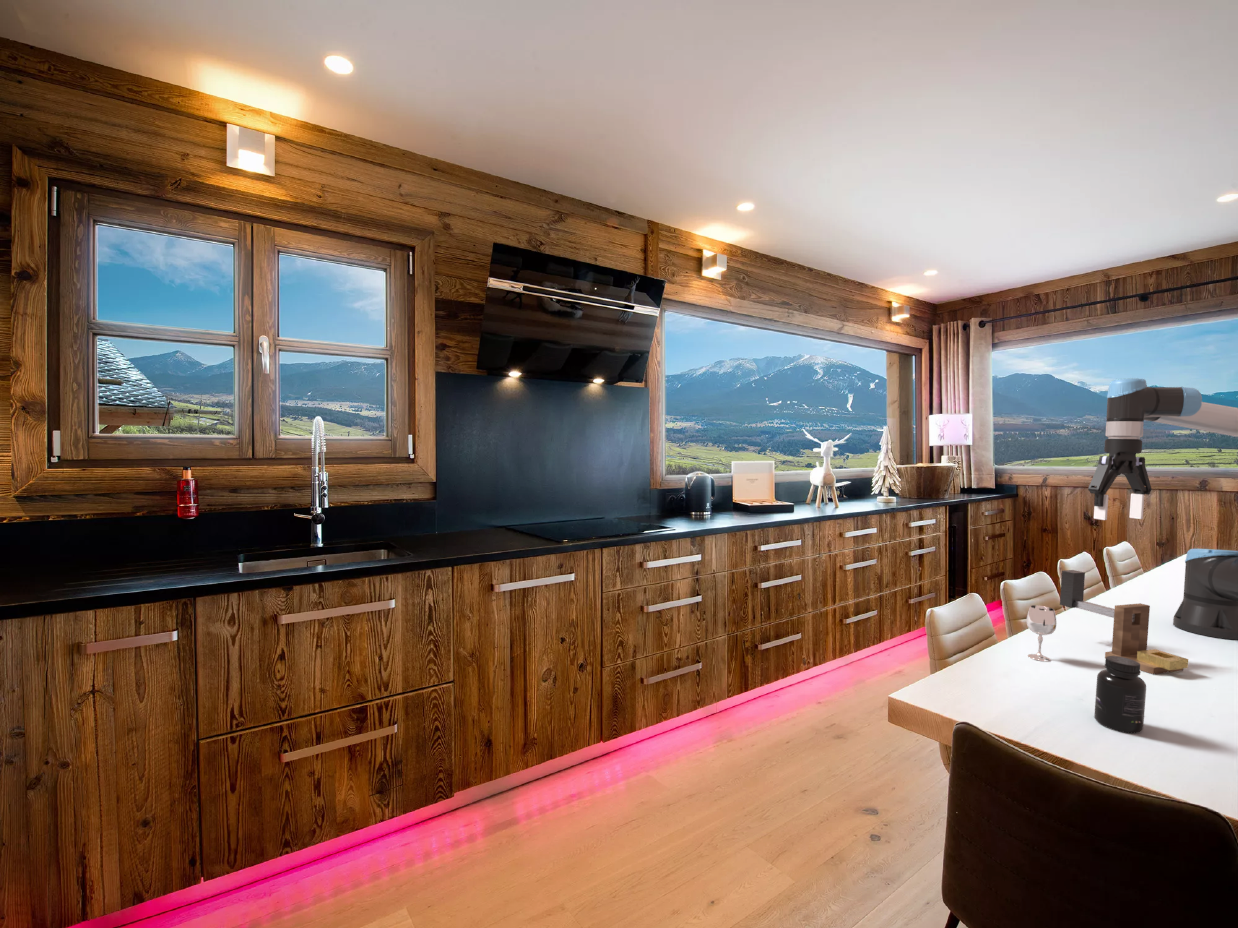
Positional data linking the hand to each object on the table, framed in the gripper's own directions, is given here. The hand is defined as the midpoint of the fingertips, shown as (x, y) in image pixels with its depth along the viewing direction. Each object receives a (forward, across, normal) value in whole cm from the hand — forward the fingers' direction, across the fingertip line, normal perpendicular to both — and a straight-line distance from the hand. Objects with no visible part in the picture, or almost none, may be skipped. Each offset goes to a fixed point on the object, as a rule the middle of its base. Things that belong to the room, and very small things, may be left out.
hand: (1118, 518), depth 157 cm
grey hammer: (+23, +14, +5) cm, 27 cm away
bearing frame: (+32, +14, +15) cm, 38 cm away
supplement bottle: (+32, +54, +36) cm, 72 cm away
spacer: (+29, +14, +16) cm, 36 cm away
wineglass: (+32, +35, +7) cm, 48 cm away
